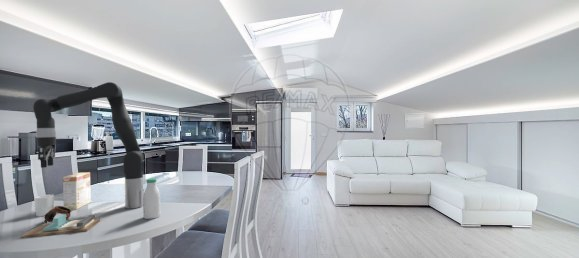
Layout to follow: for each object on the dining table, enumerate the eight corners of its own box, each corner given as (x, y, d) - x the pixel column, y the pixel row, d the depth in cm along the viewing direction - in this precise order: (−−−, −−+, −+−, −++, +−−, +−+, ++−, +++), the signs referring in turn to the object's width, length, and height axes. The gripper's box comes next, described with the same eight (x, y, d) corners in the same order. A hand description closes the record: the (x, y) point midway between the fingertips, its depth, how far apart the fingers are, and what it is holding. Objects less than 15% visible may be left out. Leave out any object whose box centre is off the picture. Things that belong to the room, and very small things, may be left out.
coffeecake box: (78, 203, 159) (78, 172, 159) (91, 202, 161) (91, 172, 161) (62, 210, 145) (62, 176, 145) (76, 209, 146) (76, 176, 146)
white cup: (41, 217, 134) (41, 198, 134) (30, 216, 135) (30, 197, 135) (58, 212, 141) (57, 194, 142) (47, 211, 143) (46, 194, 143)
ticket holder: (100, 221, 126) (99, 213, 126) (87, 231, 114) (87, 222, 114) (41, 226, 120) (41, 218, 120) (20, 238, 107) (20, 229, 107)
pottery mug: (49, 219, 131) (60, 204, 134) (67, 226, 132) (77, 211, 135) (32, 221, 120) (44, 205, 123) (51, 229, 121) (63, 212, 123)
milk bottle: (163, 215, 134) (163, 177, 134) (151, 220, 127) (150, 180, 127) (152, 213, 136) (152, 177, 137) (140, 218, 129) (139, 180, 129)
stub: (68, 222, 121) (68, 212, 121) (56, 229, 112) (56, 219, 112) (55, 224, 120) (55, 214, 120) (43, 231, 111) (42, 220, 111)
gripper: (50, 136, 130) (51, 167, 131) (60, 136, 143) (61, 164, 143) (30, 137, 127) (31, 169, 127) (42, 136, 140) (43, 165, 140)
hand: (47, 166), depth 135 cm, fingers open, 8 cm apart
